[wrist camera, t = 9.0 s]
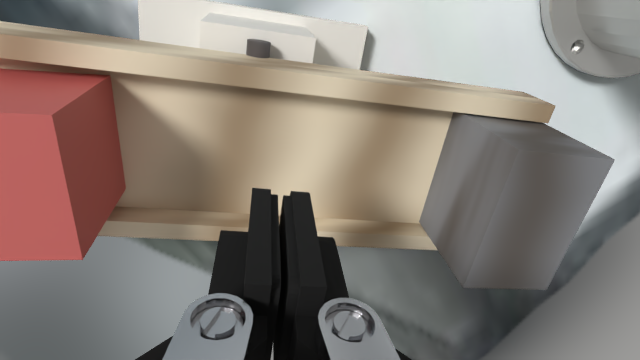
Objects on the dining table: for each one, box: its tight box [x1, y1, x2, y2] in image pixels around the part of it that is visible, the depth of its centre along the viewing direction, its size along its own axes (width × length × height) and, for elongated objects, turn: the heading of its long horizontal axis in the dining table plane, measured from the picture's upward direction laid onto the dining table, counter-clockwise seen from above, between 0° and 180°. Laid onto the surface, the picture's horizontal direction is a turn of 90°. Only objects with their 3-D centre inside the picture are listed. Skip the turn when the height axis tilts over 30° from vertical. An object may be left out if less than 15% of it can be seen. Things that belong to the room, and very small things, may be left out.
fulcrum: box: [138, 0, 368, 70], centre depth 22 cm, size 12×11×5 cm
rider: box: [0, 68, 126, 261], centre depth 14 cm, size 5×5×5 cm
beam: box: [0, 21, 614, 290], centre depth 16 cm, size 26×9×7 cm, turn 81°
